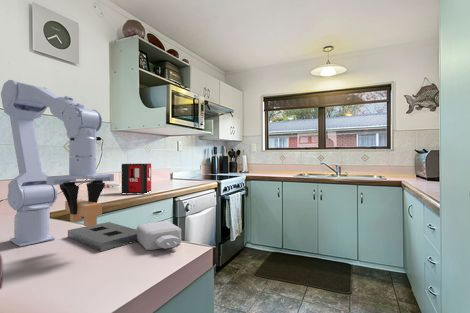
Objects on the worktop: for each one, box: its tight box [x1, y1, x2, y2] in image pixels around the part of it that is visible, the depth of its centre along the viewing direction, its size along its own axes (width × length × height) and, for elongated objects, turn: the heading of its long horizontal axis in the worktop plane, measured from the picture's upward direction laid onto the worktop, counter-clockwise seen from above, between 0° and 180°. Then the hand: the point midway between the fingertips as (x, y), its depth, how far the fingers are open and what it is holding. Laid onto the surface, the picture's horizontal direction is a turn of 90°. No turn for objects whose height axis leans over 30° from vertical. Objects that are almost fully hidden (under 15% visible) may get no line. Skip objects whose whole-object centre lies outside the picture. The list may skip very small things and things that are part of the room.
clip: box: [64, 198, 103, 227], centre depth 63 cm, size 12×4×5 cm, turn 53°
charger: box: [136, 220, 182, 251], centre depth 66 cm, size 5×9×15 cm
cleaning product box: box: [121, 163, 152, 194], centre depth 173 cm, size 16×9×20 cm, turn 90°
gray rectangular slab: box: [67, 221, 139, 252], centre depth 73 cm, size 20×12×2 cm, turn 53°
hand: (82, 212), depth 63 cm, fingers closed on clip, 3 cm apart
